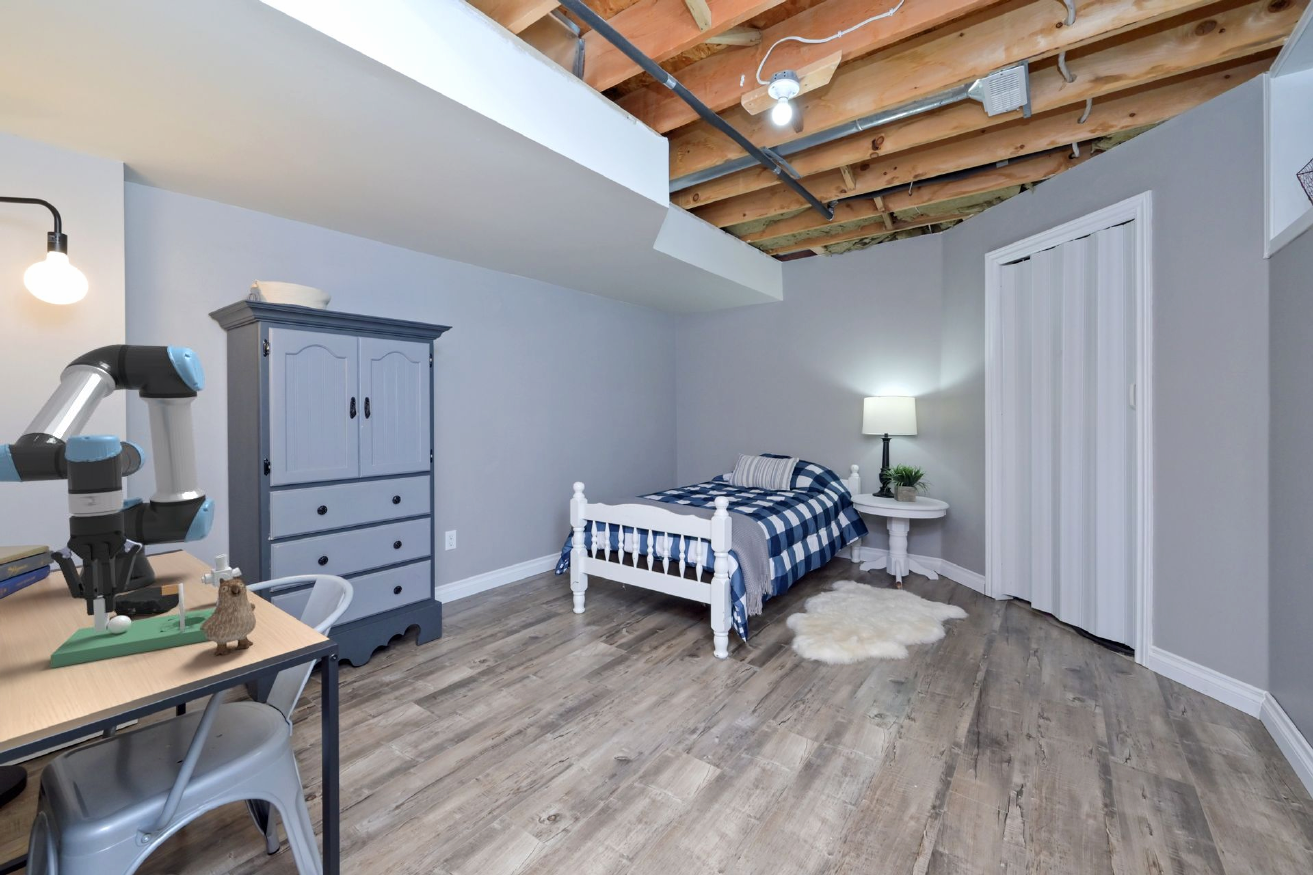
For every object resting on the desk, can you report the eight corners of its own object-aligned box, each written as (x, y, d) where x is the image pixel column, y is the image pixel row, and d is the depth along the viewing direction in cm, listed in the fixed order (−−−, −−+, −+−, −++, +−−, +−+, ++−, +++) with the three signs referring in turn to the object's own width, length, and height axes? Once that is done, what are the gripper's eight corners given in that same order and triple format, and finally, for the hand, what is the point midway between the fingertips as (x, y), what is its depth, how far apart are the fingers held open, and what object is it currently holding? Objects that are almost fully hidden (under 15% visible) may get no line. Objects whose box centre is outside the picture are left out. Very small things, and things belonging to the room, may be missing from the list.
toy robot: (244, 600, 135) (242, 553, 134) (204, 608, 129) (202, 559, 129) (240, 596, 138) (239, 550, 137) (201, 604, 132) (199, 556, 131)
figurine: (212, 665, 101) (208, 586, 100) (191, 653, 106) (188, 578, 105) (267, 647, 109) (264, 574, 108) (245, 636, 114) (243, 566, 113)
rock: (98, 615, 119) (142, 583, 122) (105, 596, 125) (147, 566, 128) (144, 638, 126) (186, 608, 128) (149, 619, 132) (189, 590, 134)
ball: (113, 612, 110) (136, 613, 112) (108, 629, 110) (131, 630, 112) (107, 618, 107) (130, 619, 109) (101, 635, 107) (125, 636, 109)
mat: (79, 640, 112) (76, 581, 111) (226, 616, 124) (224, 563, 124) (51, 668, 100) (47, 602, 99) (217, 638, 113) (214, 580, 112)
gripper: (41, 519, 101) (47, 643, 102) (135, 512, 107) (140, 629, 108) (58, 512, 107) (64, 629, 108) (146, 506, 114) (151, 616, 115)
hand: (102, 629), depth 108 cm, fingers closed
